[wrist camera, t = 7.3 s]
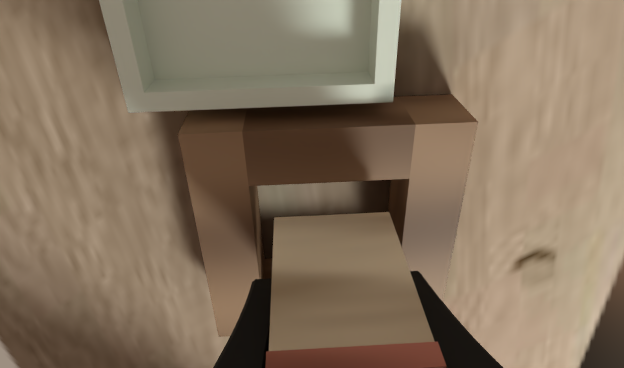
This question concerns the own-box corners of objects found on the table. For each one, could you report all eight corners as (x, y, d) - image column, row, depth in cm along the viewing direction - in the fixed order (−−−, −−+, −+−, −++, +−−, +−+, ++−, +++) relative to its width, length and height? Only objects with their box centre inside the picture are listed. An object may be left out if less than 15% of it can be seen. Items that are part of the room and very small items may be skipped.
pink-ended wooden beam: (383, 295, 15) (425, 459, 11) (279, 300, 15) (277, 468, 11) (390, 210, 13) (446, 366, 9) (272, 216, 13) (264, 376, 9)
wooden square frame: (422, 282, 20) (438, 324, 18) (225, 292, 20) (218, 336, 17) (451, 94, 15) (478, 122, 13) (192, 104, 15) (177, 134, 13)
